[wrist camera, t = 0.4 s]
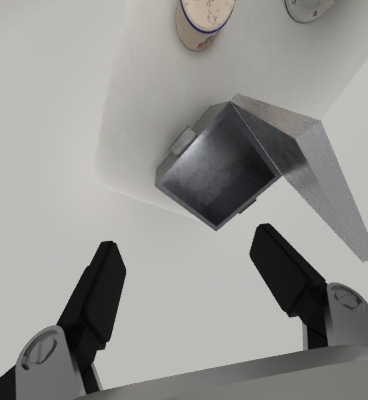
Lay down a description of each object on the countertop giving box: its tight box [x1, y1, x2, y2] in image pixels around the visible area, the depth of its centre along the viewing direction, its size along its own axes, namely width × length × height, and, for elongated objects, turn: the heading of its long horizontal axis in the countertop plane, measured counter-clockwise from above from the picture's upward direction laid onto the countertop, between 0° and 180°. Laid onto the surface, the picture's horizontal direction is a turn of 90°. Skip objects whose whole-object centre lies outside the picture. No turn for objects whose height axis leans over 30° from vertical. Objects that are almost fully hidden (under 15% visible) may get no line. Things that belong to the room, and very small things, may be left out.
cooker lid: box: [230, 94, 368, 262], centre depth 22 cm, size 22×22×4 cm
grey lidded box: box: [155, 101, 282, 231], centre depth 39 cm, size 22×27×12 cm
